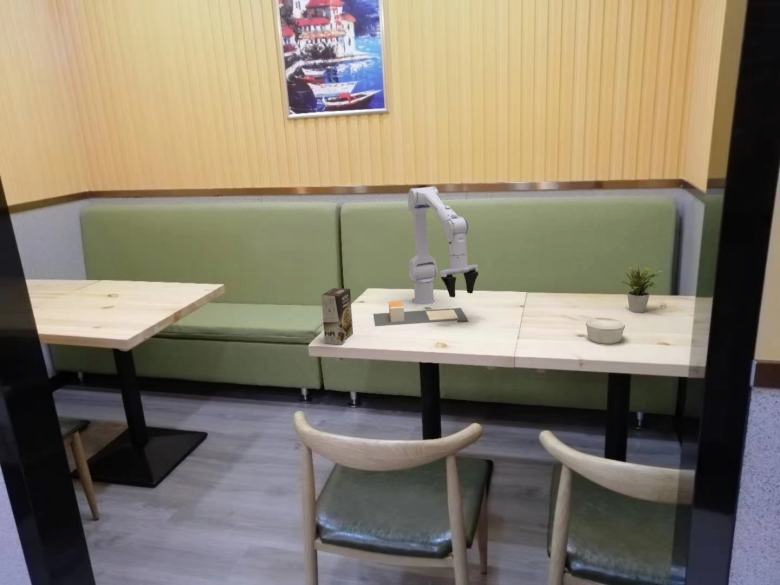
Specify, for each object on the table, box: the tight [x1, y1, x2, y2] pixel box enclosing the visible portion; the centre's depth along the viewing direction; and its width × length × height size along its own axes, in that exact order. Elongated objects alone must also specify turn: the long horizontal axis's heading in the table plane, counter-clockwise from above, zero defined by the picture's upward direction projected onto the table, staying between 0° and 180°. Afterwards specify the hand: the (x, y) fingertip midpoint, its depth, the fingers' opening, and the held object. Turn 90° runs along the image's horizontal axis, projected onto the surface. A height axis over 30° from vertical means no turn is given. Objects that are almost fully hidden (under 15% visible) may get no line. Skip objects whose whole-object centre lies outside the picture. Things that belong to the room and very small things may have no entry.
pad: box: [426, 310, 458, 321], centre depth 206 cm, size 10×10×1 cm
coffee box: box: [320, 287, 354, 346], centre depth 187 cm, size 9×6×16 cm
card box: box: [388, 300, 405, 322], centre depth 205 cm, size 8×5×5 cm, turn 4°
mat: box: [372, 307, 469, 327], centre depth 206 cm, size 14×32×1 cm, turn 94°
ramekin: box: [585, 317, 626, 345], centre depth 177 cm, size 11×11×5 cm
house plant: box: [619, 264, 662, 314], centre depth 199 cm, size 14×14×16 cm
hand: (461, 295), depth 195 cm, fingers open, 7 cm apart
